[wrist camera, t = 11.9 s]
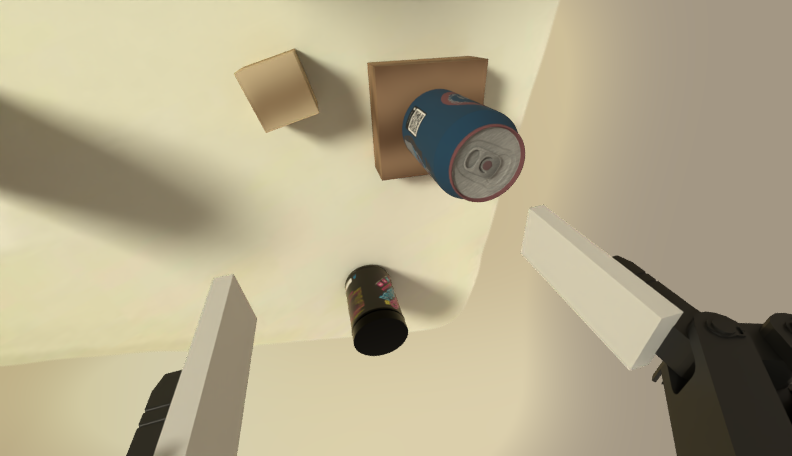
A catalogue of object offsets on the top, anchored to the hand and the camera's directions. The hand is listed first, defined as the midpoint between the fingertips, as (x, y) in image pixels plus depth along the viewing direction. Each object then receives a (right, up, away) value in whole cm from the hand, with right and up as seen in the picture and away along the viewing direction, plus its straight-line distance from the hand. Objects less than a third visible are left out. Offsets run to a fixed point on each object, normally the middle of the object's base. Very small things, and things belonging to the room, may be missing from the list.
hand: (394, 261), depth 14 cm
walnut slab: (+3, +14, +21) cm, 26 cm away
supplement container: (-4, -6, +32) cm, 33 cm away
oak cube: (-11, +15, +16) cm, 25 cm away
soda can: (+4, +12, +18) cm, 22 cm away
